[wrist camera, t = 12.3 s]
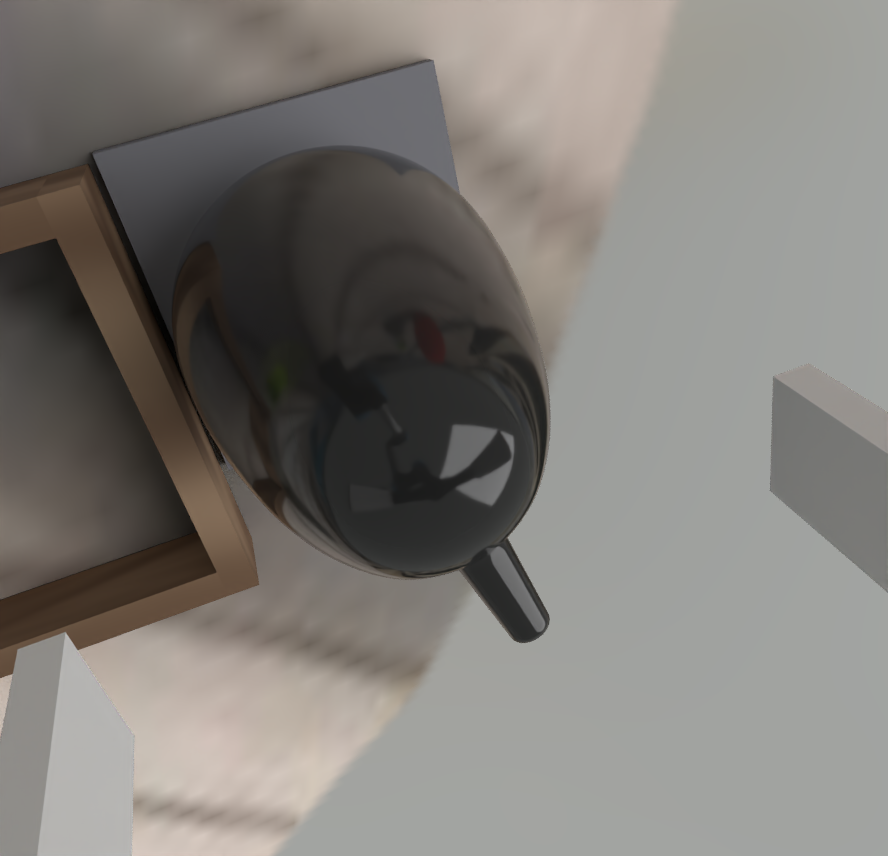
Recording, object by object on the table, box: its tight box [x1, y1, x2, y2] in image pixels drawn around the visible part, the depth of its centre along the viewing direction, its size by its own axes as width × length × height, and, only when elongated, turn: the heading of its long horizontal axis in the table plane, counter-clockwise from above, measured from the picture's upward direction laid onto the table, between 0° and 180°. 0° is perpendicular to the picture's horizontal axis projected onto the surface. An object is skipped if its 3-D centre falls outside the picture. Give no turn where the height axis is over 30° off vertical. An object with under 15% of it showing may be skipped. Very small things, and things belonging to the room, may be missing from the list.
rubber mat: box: [93, 59, 460, 470], centre depth 29 cm, size 12×11×1 cm
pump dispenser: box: [172, 145, 550, 643], centre depth 22 cm, size 10×10×15 cm
